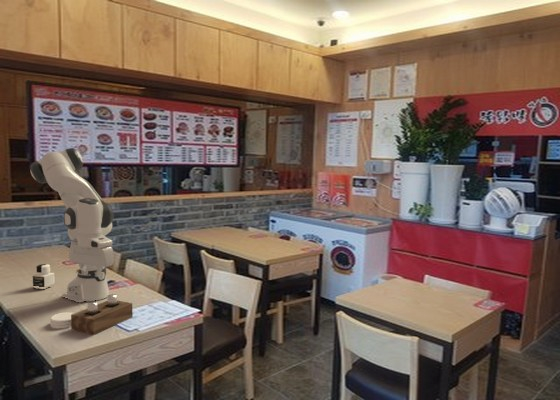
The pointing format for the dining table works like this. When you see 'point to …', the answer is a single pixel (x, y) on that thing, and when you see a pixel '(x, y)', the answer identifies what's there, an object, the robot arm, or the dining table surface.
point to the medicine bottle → (43, 276)
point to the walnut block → (101, 317)
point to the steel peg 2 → (112, 300)
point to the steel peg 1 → (92, 308)
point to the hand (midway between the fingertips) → (91, 275)
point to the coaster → (61, 320)
